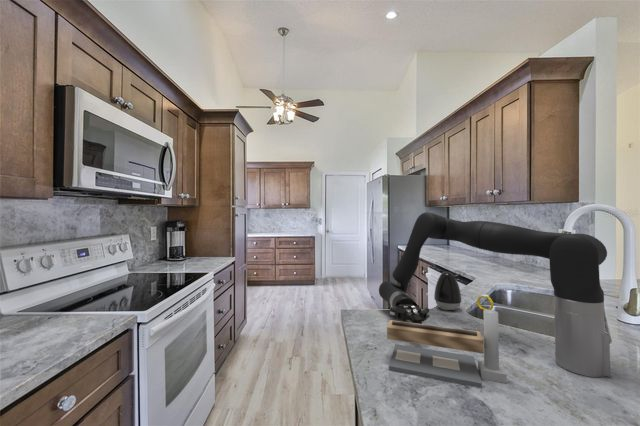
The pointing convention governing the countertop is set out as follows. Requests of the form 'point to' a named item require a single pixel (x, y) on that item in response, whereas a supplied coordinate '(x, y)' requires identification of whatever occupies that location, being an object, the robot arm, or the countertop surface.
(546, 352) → the countertop surface
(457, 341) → the brown long rectangular block
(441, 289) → the black egg-shaped device
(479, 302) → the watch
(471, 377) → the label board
